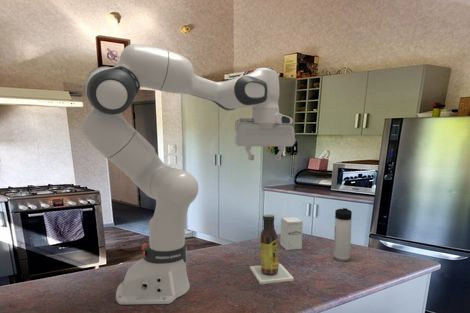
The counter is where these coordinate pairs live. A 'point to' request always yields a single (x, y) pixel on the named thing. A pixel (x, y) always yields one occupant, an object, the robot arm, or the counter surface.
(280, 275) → the tile
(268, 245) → the sauce bottle
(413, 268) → the counter surface
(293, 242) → the supplement box
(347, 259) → the travel mug
